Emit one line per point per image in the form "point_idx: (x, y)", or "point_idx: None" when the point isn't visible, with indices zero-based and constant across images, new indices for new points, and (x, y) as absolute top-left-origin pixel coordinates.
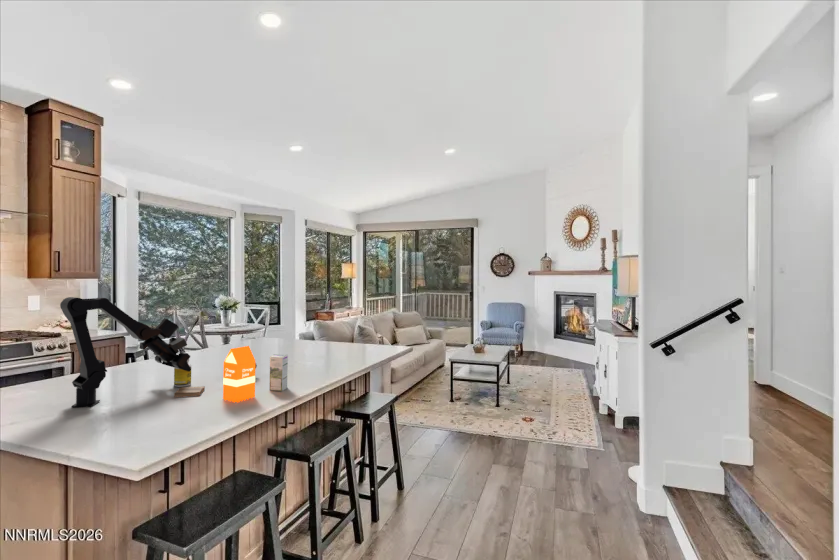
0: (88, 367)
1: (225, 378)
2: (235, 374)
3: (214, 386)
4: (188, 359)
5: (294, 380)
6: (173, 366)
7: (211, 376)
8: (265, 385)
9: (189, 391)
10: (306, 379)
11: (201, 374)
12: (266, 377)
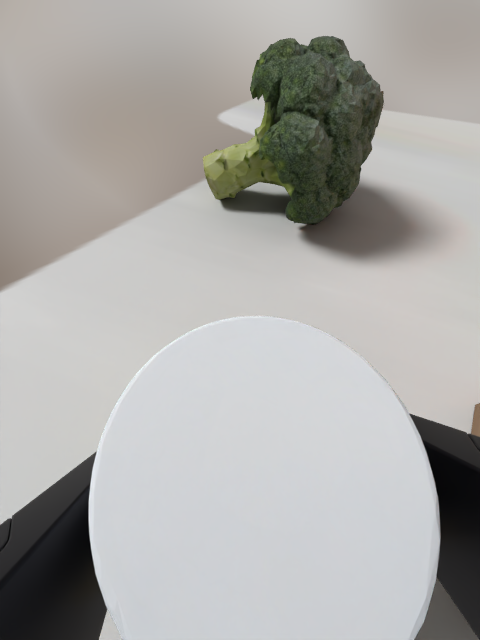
0: None
1: None
2: None
3: (396, 328)
4: (349, 358)
5: (425, 134)
6: (95, 625)
7: (144, 262)
8: (469, 194)
9: None
10: (426, 118)
11: (49, 277)
12: None
